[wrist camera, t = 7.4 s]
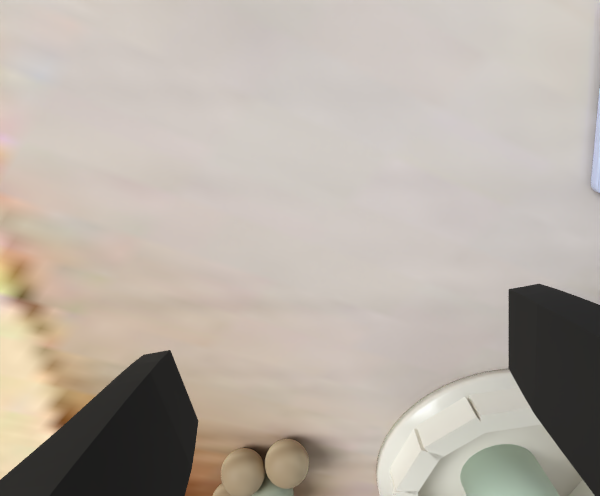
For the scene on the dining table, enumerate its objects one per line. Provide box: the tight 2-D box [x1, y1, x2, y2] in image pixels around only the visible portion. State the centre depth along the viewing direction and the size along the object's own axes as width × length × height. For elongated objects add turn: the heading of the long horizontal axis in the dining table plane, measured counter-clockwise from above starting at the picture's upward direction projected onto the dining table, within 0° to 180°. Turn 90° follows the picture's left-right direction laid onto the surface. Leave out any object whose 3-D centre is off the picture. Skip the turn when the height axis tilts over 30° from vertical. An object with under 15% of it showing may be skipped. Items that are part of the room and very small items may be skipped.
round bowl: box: [376, 369, 595, 496], centre depth 23 cm, size 14×14×2 cm
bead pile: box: [213, 439, 309, 496], centre depth 22 cm, size 6×5×2 cm
